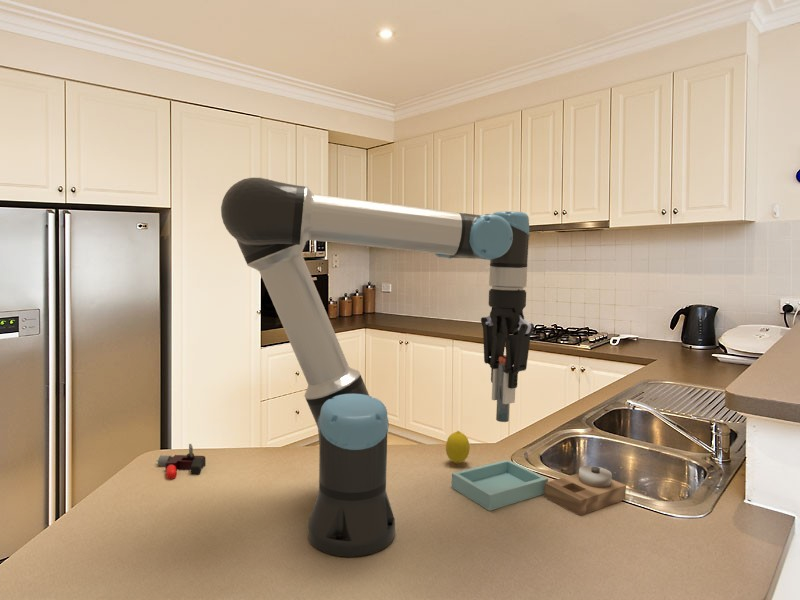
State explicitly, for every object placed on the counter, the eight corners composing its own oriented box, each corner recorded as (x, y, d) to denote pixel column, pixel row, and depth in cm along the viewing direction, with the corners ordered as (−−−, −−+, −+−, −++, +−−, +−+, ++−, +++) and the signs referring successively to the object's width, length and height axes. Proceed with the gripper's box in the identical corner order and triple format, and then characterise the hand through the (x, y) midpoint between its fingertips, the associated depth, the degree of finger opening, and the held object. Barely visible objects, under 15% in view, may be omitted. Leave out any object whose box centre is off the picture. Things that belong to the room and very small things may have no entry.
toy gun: (159, 463, 123) (158, 442, 123) (210, 464, 123) (210, 444, 123) (138, 481, 113) (137, 458, 113) (194, 482, 113) (194, 460, 113)
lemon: (467, 469, 123) (469, 436, 122) (444, 467, 124) (445, 433, 123) (469, 460, 128) (470, 428, 128) (446, 458, 129) (447, 426, 129)
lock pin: (502, 422, 110) (504, 357, 108) (493, 419, 112) (496, 355, 111) (511, 420, 111) (514, 356, 110) (502, 417, 113) (505, 354, 112)
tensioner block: (579, 515, 102) (581, 486, 102) (544, 497, 110) (545, 469, 109) (625, 499, 110) (626, 472, 109) (588, 483, 117) (590, 457, 117)
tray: (489, 510, 103) (490, 495, 103) (451, 487, 113) (451, 473, 113) (547, 493, 112) (547, 478, 112) (507, 472, 122) (507, 459, 122)
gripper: (549, 290, 104) (544, 408, 106) (495, 285, 118) (491, 390, 120) (522, 291, 101) (516, 413, 102) (468, 286, 114) (465, 394, 116)
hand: (503, 400), depth 111 cm, fingers closed on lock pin, 2 cm apart
